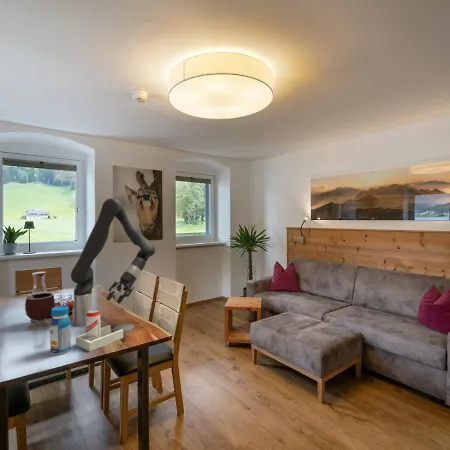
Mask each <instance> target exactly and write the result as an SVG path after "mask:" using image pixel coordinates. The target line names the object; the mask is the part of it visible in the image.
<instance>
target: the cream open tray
mask: <svg viewBox="0 0 450 450" xmlns="http://www.w3.org/2000/svg"><path fill="white" fill-rule="evenodd" d="M111 328H112V327H111V324H108V325H105V326H103V327H100V330H101V337H100V338H98V339H95V340H93V341H89V340H86V333H83V334H81V335H78V336H75V346H77V347H79V348H81V349H82V350H86V351H88V352H92V351H95V350H97V349H100V348H102V347H104V346H106V345H108V344H111V343H113V342H117V341H119V340H121V339H123V338H124V333H123V330H122V329H121V330H118V331H116V332H114V331H113V332H112V330H111Z"/></svg>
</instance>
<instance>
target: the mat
mask: <svg viewBox="0 0 450 450" xmlns="http://www.w3.org/2000/svg"><path fill="white" fill-rule="evenodd" d="M121 329H122V330H123V334H124V333H129V332H131V331H133V330H134V329H135V325H134V324H130V323H123V324H118V325H116V326H114V327H112V331H113V332H116V331H118V330H121Z"/></svg>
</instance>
